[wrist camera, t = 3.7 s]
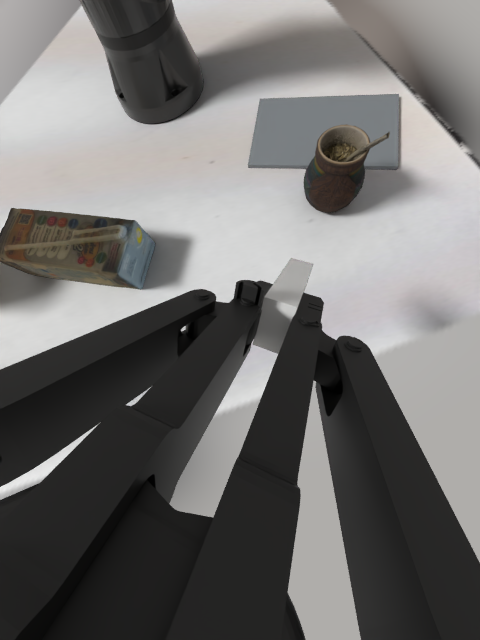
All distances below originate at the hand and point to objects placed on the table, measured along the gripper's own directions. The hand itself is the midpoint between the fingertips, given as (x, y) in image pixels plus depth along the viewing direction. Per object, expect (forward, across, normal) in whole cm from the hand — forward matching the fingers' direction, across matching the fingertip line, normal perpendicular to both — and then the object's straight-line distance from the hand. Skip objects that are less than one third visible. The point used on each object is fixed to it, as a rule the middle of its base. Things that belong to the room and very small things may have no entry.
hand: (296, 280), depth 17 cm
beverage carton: (+10, -30, -10) cm, 33 cm away
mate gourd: (+24, 0, +4) cm, 24 cm away
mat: (+31, -4, +11) cm, 33 cm away
